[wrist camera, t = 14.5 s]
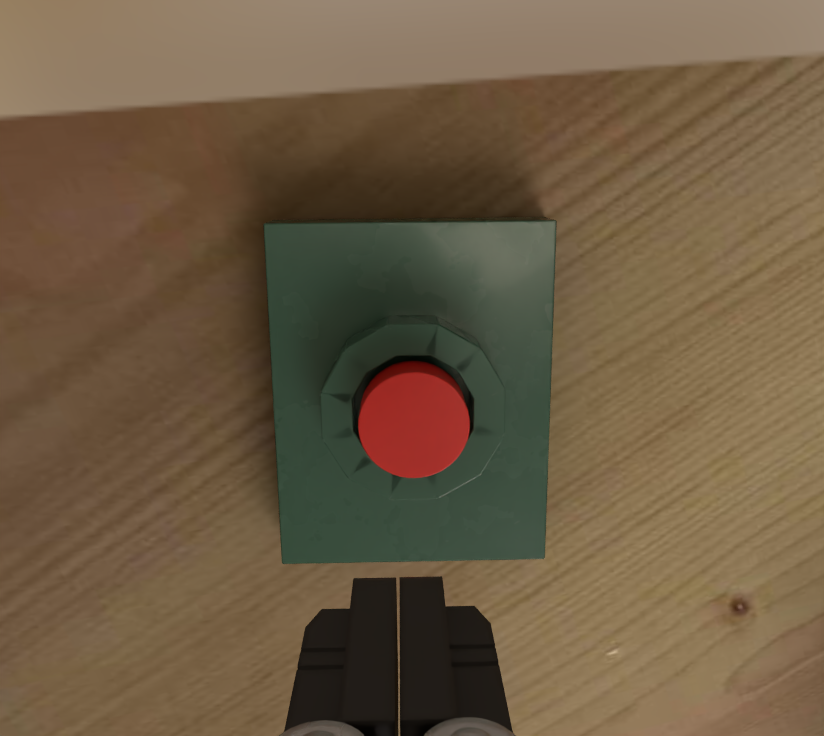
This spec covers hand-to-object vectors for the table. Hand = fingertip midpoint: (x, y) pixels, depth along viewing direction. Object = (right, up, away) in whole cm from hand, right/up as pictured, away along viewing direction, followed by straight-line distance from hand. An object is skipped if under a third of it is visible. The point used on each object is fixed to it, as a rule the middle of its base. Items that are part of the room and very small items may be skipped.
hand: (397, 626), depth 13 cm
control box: (0, +4, +20) cm, 20 cm away
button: (0, +3, +16) cm, 16 cm away
